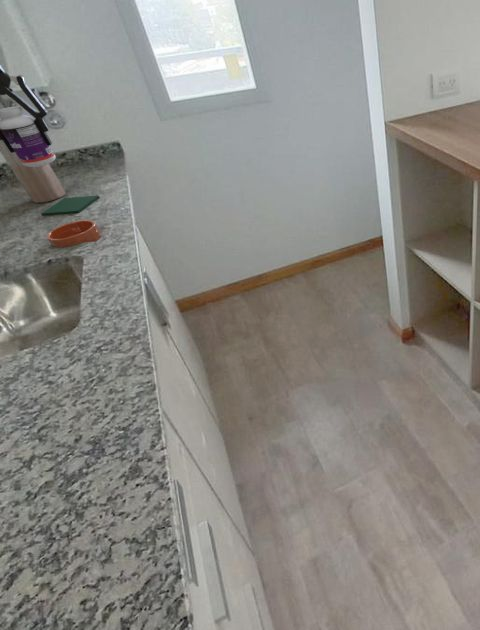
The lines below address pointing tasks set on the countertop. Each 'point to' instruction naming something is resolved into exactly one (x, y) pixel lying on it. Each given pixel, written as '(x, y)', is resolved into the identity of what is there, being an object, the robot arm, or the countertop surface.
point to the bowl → (74, 233)
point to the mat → (70, 205)
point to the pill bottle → (25, 137)
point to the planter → (34, 178)
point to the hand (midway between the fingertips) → (31, 147)
